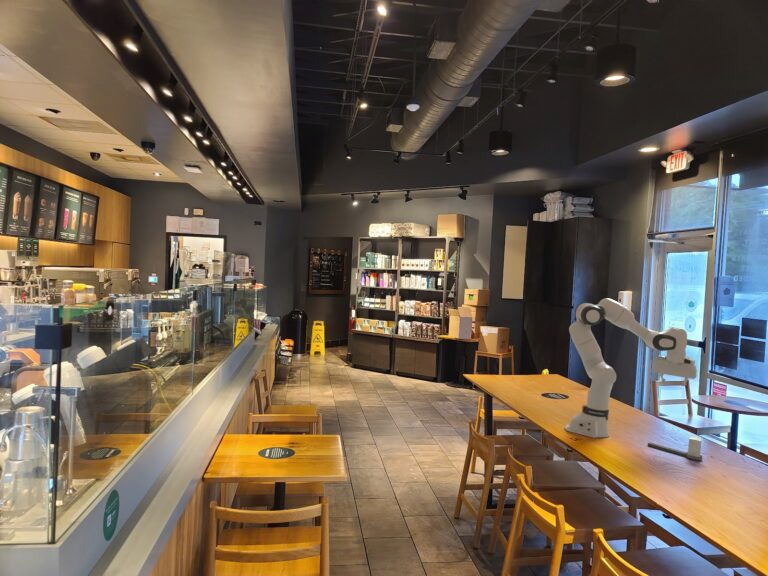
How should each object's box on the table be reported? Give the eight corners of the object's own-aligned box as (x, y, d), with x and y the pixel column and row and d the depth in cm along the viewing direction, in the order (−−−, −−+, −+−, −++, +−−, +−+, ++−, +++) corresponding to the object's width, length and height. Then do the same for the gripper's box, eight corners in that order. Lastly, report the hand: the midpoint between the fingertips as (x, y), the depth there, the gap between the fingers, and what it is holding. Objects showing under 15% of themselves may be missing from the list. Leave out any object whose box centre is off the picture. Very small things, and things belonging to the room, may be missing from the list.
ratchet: (704, 459, 255) (705, 448, 255) (699, 462, 250) (700, 451, 250) (651, 444, 273) (652, 434, 273) (645, 446, 268) (646, 436, 268)
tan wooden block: (687, 454, 254) (689, 438, 254) (687, 452, 259) (689, 436, 258) (699, 457, 252) (701, 441, 251) (699, 454, 256) (701, 438, 256)
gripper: (652, 355, 282) (650, 381, 282) (696, 362, 269) (694, 388, 270) (655, 354, 287) (653, 379, 287) (698, 360, 274) (695, 387, 275)
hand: (673, 384), depth 278 cm, fingers open, 8 cm apart
